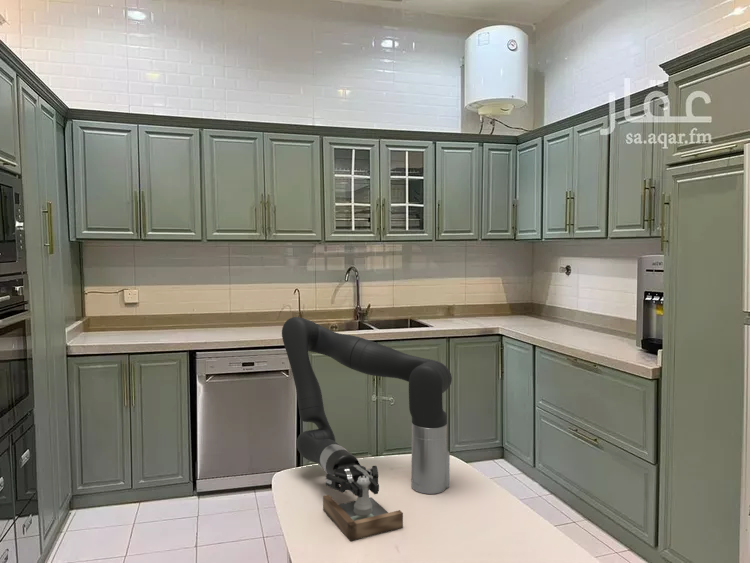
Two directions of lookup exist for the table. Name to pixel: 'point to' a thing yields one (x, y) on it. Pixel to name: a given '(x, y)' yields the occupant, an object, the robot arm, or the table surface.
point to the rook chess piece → (363, 498)
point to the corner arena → (361, 519)
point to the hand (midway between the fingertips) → (369, 491)
